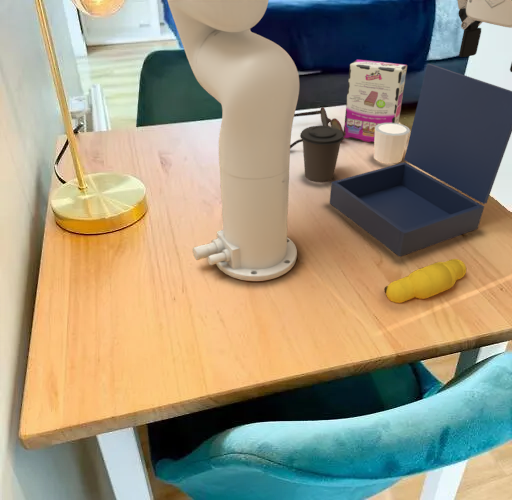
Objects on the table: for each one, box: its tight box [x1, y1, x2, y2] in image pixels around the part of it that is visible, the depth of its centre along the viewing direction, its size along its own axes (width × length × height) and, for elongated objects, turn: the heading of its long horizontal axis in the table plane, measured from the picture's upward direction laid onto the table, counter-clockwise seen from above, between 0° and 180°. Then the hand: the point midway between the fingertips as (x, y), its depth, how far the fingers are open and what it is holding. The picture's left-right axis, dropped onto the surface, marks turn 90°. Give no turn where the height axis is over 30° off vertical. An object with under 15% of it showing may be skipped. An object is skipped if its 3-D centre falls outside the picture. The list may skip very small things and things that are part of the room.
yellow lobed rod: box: [384, 258, 467, 304], centre depth 69 cm, size 14×4×4 cm, turn 118°
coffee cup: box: [299, 125, 345, 183], centre depth 96 cm, size 8×8×10 cm
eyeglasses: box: [290, 106, 346, 150], centre depth 114 cm, size 15×15×5 cm
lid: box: [403, 63, 512, 205], centre depth 82 cm, size 17×18×5 cm
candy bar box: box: [343, 59, 408, 144], centre depth 110 cm, size 11×5×16 cm, turn 62°
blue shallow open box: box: [329, 161, 485, 258], centre depth 85 cm, size 16×18×5 cm
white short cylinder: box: [373, 123, 411, 165], centre depth 103 cm, size 7×7×7 cm
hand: (491, 63), depth 77 cm, fingers open, 9 cm apart
